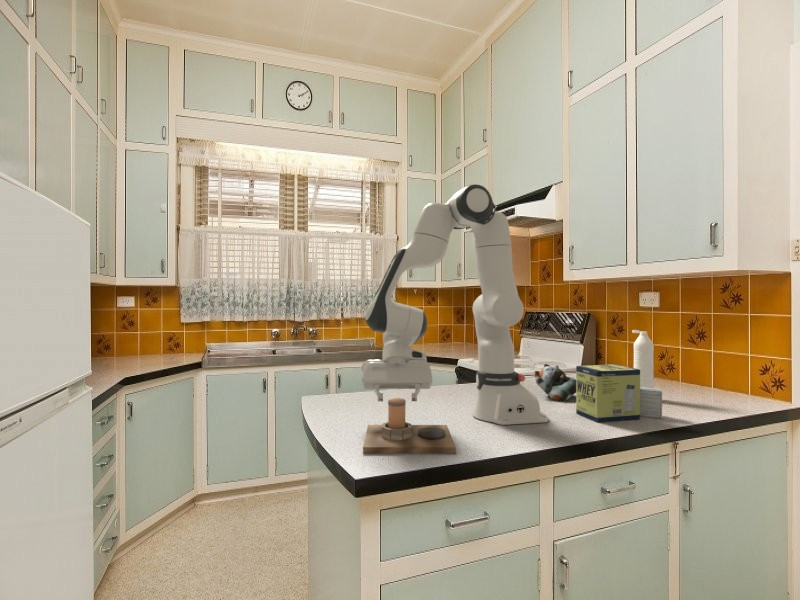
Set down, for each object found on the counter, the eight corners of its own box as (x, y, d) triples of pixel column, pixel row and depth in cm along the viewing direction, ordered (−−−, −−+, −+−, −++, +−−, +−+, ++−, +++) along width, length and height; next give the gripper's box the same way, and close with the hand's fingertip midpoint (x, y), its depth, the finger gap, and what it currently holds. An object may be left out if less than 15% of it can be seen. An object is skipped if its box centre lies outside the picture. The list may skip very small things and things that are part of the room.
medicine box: (660, 415, 136) (660, 388, 136) (662, 419, 132) (662, 390, 132) (632, 412, 139) (632, 386, 139) (633, 416, 135) (633, 388, 135)
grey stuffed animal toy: (563, 403, 151) (542, 367, 154) (540, 409, 161) (522, 375, 164) (589, 387, 158) (569, 353, 161) (566, 393, 168) (548, 361, 171)
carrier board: (446, 430, 120) (446, 415, 120) (455, 453, 102) (455, 436, 102) (367, 430, 120) (368, 415, 120) (363, 453, 102) (363, 436, 102)
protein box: (575, 413, 138) (575, 365, 138) (616, 411, 141) (616, 363, 141) (597, 423, 128) (597, 370, 127) (641, 419, 131) (641, 368, 131)
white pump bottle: (657, 400, 156) (658, 331, 156) (641, 401, 155) (641, 331, 155) (641, 395, 164) (641, 329, 164) (625, 395, 164) (625, 330, 163)
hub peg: (405, 432, 113) (405, 398, 113) (405, 437, 109) (405, 402, 109) (388, 432, 113) (388, 398, 113) (387, 437, 109) (387, 402, 109)
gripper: (361, 353, 127) (359, 394, 117) (431, 353, 127) (434, 393, 117) (362, 366, 131) (360, 406, 121) (429, 366, 131) (432, 406, 122)
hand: (397, 400), depth 119 cm, fingers open, 8 cm apart
